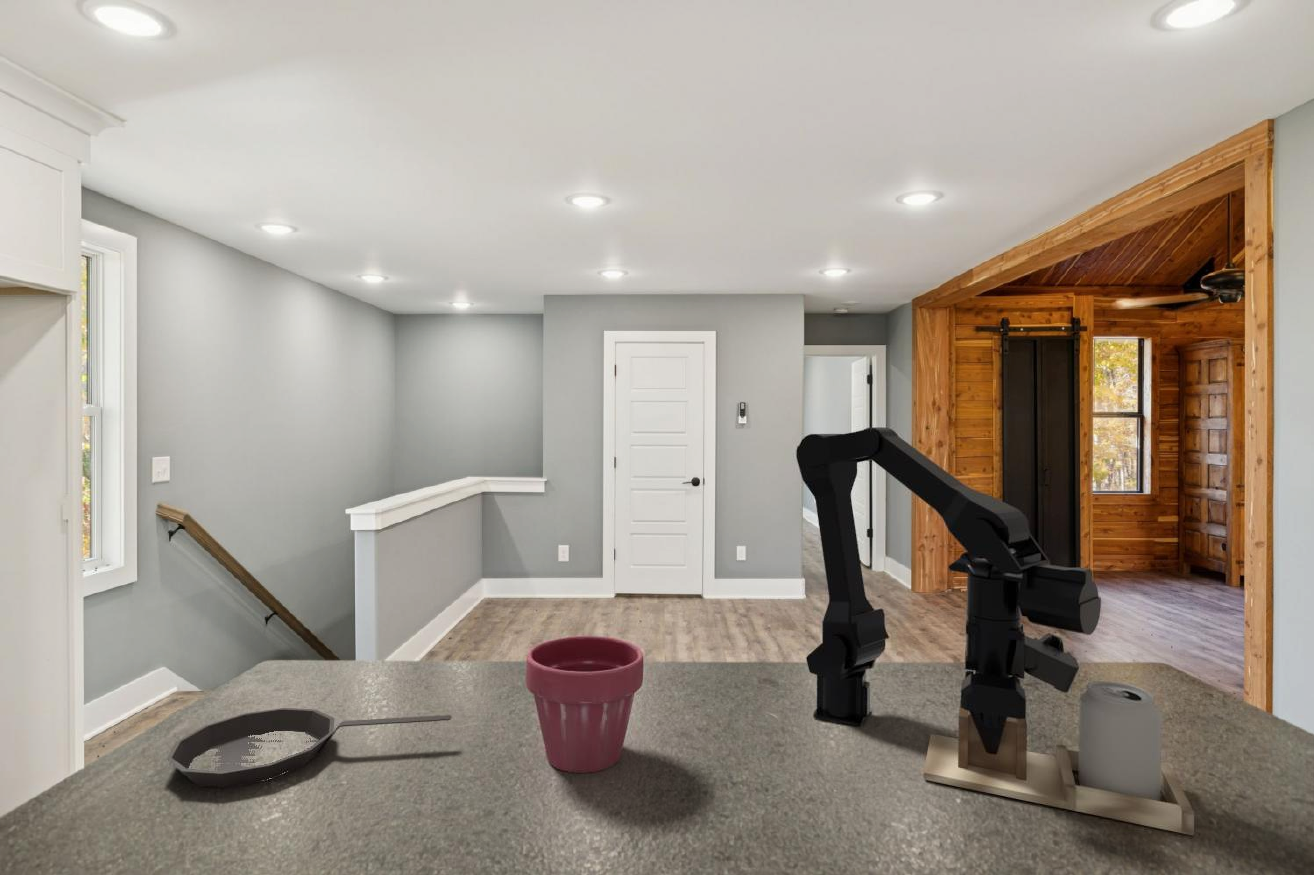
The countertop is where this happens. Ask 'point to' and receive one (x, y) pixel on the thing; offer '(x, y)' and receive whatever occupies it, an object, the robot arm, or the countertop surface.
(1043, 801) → the wooden divided tray
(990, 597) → the robot arm
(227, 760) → the frying pan
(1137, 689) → the can
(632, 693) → the plant pot
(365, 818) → the countertop surface
